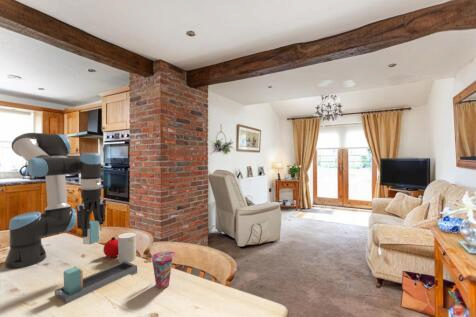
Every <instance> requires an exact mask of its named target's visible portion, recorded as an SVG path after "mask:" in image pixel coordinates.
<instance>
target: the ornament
mask: <svg viewBox="0 0 476 317" xmlns="http://www.w3.org/2000/svg"><path fill="white" fill-rule="evenodd" d="M102 250H103V254H104V255H105V256H106V257H107V258H111V259H112V258H115V257H118V238H116V237H115V236H113V237H111V239H109V240H108V241H107V242H105V243H104V244H103V248H102Z"/></svg>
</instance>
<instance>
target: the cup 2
mask: <svg viewBox="0 0 476 317" xmlns="http://www.w3.org/2000/svg"><path fill="white" fill-rule="evenodd" d="M175 254H176V252H175V251H160V252H157V253H154V254H152V256H151V258H150V259H151V261H152V266H153V268H152V269H153V274H154V280H155V287H156V288H157V289H166V288H168V287H169V286H170V281H171V273H172V266H173V258H174V255H175Z"/></svg>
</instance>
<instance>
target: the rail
mask: <svg viewBox="0 0 476 317" xmlns="http://www.w3.org/2000/svg"><path fill="white" fill-rule="evenodd" d="M137 273H138V265H136V264H133V263H131V262H127V261H124V262H119V263H117V264H115V265H112V266H109V267H106V268H105V269H103V270H100V271H98V272H95V273H93V274H90V275H88V276H85V277H83V287H81V290H79V291H77V292H74V293H72V294H70V295H67V294H66V293H64V286H62V287H58V288H57V289H54V296H55V298H57V299H58V300H60V301H62V302H63V303H64V304H66V305H67V304H69V303H71V302H73V301H75V300H77V299H79V298H82V297H83V296H86V295H89V294H90V293H92V292H94V291H96V290H99V289H101V288H103V287H104V286H105V287H106V286H107V285H110V284H112V283H113V282H116V281H118V280H121V279H123V278H124V277H127V276H128V275H131V276H133V275H135V274H137Z"/></svg>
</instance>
